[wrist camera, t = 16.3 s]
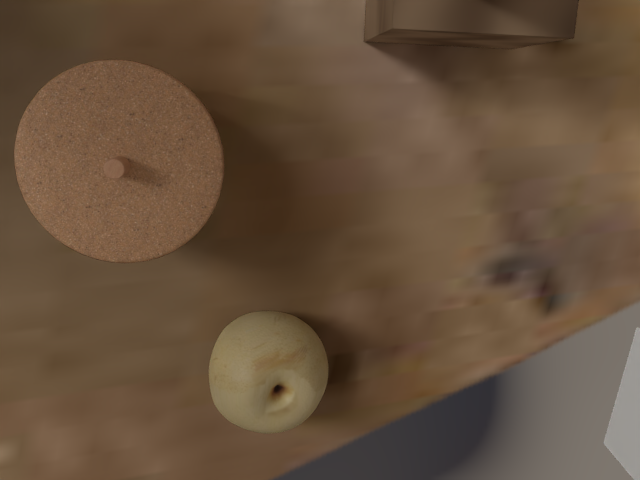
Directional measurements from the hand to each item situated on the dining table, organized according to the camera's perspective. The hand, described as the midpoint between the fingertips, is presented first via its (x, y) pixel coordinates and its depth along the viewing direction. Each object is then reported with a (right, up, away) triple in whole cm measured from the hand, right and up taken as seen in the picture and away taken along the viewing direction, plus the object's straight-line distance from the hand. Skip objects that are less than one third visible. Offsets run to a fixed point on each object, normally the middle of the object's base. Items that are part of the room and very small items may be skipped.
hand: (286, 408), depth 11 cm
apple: (-3, -5, +33) cm, 34 cm away
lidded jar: (-11, +9, +29) cm, 32 cm away
